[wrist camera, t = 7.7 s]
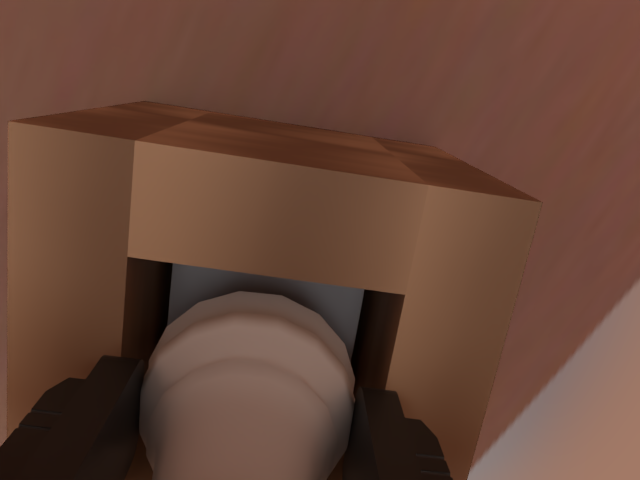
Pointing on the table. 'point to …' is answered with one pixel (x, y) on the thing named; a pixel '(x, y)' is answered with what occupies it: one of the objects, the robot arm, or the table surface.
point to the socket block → (259, 249)
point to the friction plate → (324, 299)
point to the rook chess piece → (247, 393)
